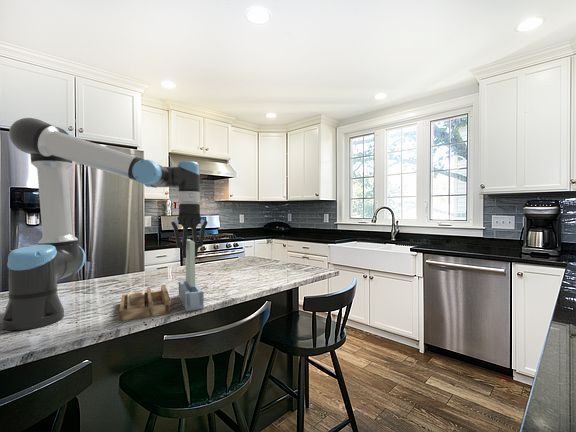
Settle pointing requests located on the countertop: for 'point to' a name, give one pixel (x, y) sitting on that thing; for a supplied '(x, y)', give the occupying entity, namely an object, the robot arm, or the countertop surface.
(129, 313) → the rack
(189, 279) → the sheet
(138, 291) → the offcut pine
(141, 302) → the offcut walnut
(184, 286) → the stand
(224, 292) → the countertop surface
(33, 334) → the countertop surface
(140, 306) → the offcut oak
